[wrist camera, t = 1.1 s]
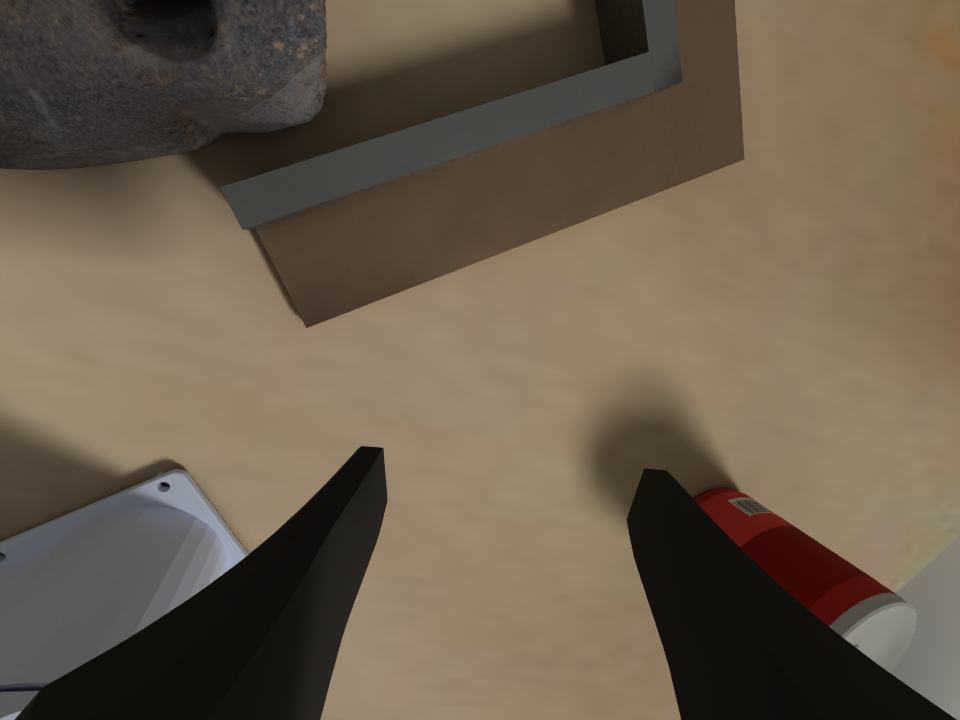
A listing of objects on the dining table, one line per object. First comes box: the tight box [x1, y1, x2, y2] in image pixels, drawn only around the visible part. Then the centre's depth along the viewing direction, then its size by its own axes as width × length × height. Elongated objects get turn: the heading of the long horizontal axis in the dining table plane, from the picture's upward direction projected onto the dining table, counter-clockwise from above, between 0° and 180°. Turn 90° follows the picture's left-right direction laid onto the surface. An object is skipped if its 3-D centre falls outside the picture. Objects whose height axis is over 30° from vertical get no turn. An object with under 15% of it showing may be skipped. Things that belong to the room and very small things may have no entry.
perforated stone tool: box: [0, 0, 327, 170], centre depth 12 cm, size 15×5×7 cm, turn 104°
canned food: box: [694, 488, 917, 673], centre depth 27 cm, size 8×8×11 cm
